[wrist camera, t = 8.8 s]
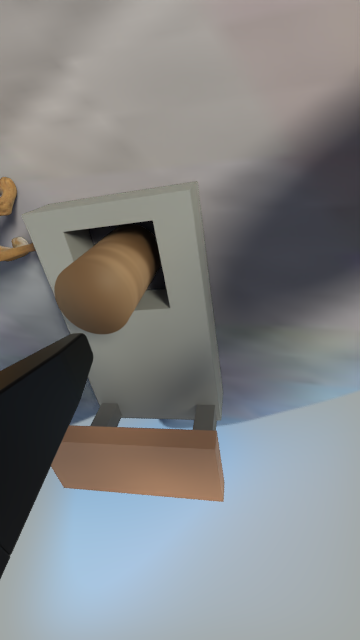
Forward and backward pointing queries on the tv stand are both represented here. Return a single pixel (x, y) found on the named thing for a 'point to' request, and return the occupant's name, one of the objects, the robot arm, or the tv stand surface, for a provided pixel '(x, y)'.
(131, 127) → the tv stand surface
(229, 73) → the tv stand surface
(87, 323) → the peg
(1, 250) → the lion figurine
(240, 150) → the tv stand surface
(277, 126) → the tv stand surface
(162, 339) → the socket block
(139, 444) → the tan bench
